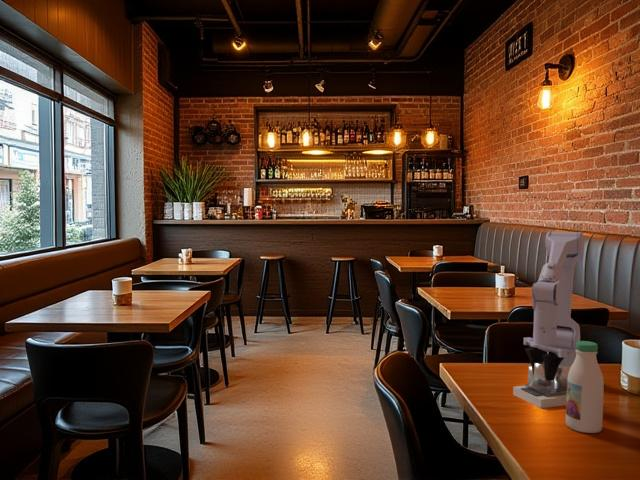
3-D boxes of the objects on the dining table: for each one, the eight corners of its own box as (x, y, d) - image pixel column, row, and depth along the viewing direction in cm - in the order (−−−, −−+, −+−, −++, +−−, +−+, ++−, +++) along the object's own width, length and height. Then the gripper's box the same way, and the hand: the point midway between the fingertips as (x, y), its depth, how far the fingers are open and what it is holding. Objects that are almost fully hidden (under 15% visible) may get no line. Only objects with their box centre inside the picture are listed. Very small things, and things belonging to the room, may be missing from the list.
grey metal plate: (558, 382, 158) (558, 380, 158) (579, 391, 150) (580, 389, 150) (525, 386, 154) (525, 384, 154) (545, 395, 147) (545, 393, 147)
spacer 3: (562, 382, 156) (562, 363, 156) (574, 387, 152) (574, 367, 151) (549, 384, 155) (549, 364, 154) (560, 389, 150) (561, 368, 150)
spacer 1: (537, 382, 166) (537, 364, 166) (547, 387, 162) (548, 368, 162) (524, 383, 165) (525, 365, 164) (534, 388, 161) (535, 369, 160)
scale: (555, 389, 159) (555, 381, 159) (584, 402, 149) (585, 393, 149) (513, 394, 155) (513, 385, 155) (540, 408, 145) (540, 398, 144)
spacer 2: (530, 381, 153) (530, 361, 152) (544, 380, 154) (545, 360, 153) (540, 386, 148) (540, 366, 148) (554, 385, 149) (555, 365, 149)
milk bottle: (599, 423, 134) (602, 340, 133) (604, 436, 127) (607, 348, 126) (564, 419, 137) (567, 337, 136) (567, 431, 130) (570, 345, 129)
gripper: (514, 322, 156) (513, 371, 157) (551, 333, 142) (550, 387, 143) (536, 321, 158) (534, 369, 159) (574, 332, 144) (572, 384, 145)
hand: (543, 377), depth 151 cm, fingers closed on spacer 2, 4 cm apart
